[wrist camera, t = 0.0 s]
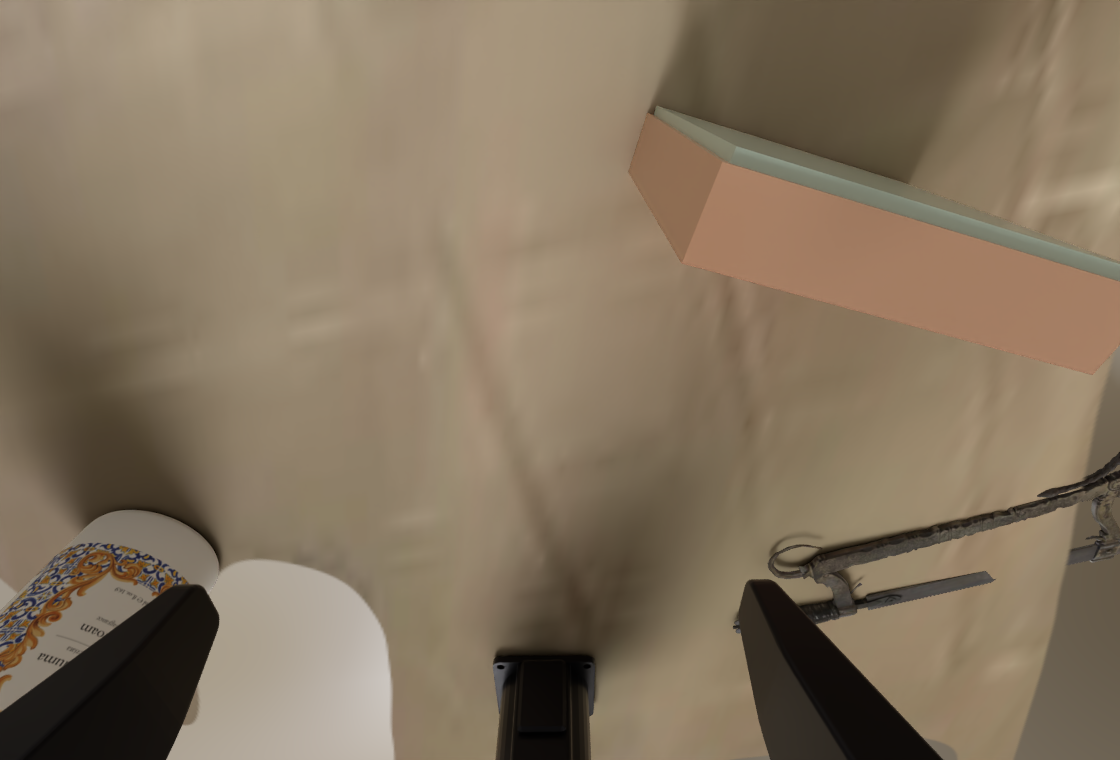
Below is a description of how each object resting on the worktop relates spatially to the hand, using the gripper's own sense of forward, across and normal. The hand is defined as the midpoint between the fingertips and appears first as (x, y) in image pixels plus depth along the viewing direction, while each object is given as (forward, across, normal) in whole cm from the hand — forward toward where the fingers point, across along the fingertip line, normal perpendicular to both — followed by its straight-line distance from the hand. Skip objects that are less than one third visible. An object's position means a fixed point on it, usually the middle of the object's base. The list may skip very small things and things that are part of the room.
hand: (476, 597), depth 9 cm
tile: (+15, -9, -4) cm, 18 cm away
